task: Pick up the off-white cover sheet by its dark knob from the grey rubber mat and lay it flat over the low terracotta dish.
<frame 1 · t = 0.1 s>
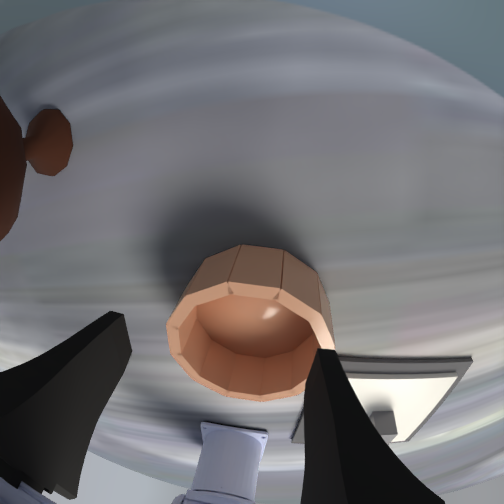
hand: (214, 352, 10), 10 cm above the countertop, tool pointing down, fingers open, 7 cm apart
cover sheet: (378, 412, 26), resting on mat
mat: (377, 408, 26), on the countertop
dish: (256, 310, 22), on the countertop
ice cream bowl: (50, 141, 18), on the countertop
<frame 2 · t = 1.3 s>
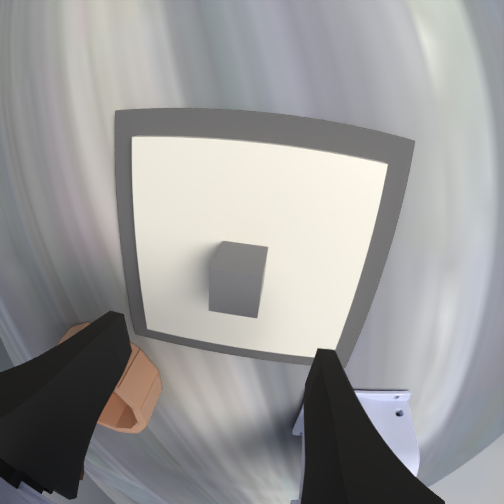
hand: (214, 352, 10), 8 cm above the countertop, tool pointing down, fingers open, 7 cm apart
cover sheet: (245, 258, 17), resting on mat
mat: (246, 254, 17), on the countertop
dish: (111, 365, 25), on the countertop
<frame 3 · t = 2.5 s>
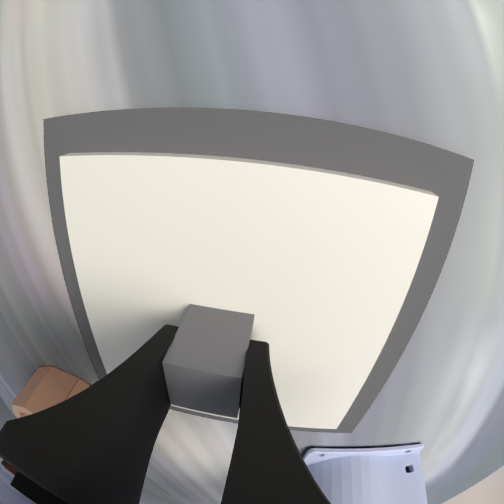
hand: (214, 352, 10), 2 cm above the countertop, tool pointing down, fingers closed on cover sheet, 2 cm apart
cover sheet: (224, 323, 12), resting on mat, touching gripper
mat: (226, 315, 12), on the countertop
dish: (85, 409, 20), on the countertop
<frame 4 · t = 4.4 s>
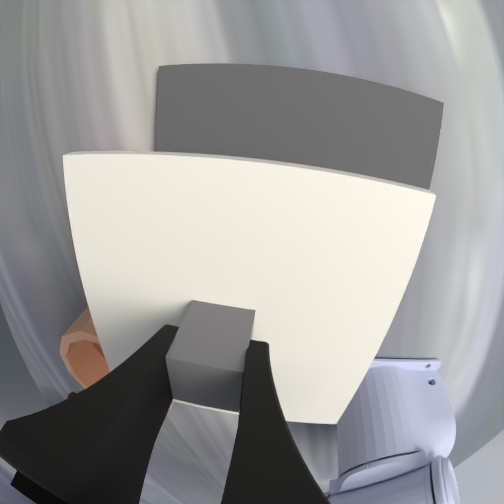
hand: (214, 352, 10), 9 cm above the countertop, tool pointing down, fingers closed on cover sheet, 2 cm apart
cover sheet: (225, 319, 12), point 7 cm above the countertop, touching gripper
mat: (289, 209, 17), on the countertop
dish: (132, 345, 24), on the countertop
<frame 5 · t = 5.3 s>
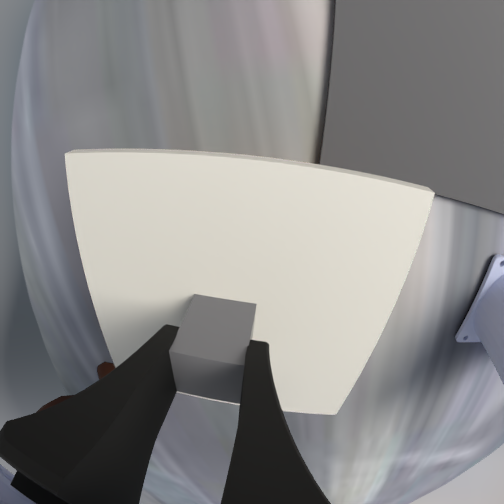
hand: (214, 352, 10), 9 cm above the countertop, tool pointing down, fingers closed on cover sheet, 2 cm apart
cover sheet: (227, 312, 12), point 7 cm above the countertop, touching gripper
mat: (461, 70, 11), on the countertop
ice cream bowl: (120, 378, 27), on the countertop
when the fingers open (7 cm above the countertop, at t = 6.1 s): cover sheet stays where it is, resting on dish.
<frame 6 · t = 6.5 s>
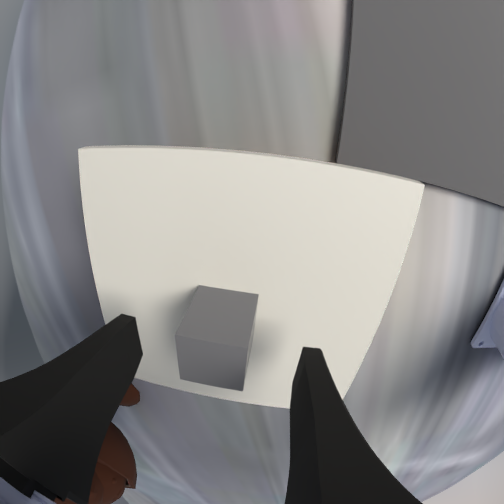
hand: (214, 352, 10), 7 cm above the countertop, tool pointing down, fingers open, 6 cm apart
cover sheet: (230, 304, 13), point 4 cm above the countertop, touching dish
mat: (483, 62, 9), on the countertop
ice cream bowl: (117, 385, 26), on the countertop
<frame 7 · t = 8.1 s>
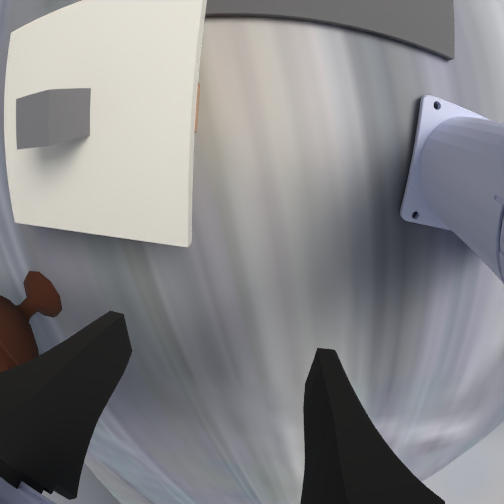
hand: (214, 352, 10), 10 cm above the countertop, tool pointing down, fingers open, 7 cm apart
cover sheet: (79, 113, 12), point 4 cm above the countertop, touching dish
ice cream bowl: (43, 292, 25), on the countertop
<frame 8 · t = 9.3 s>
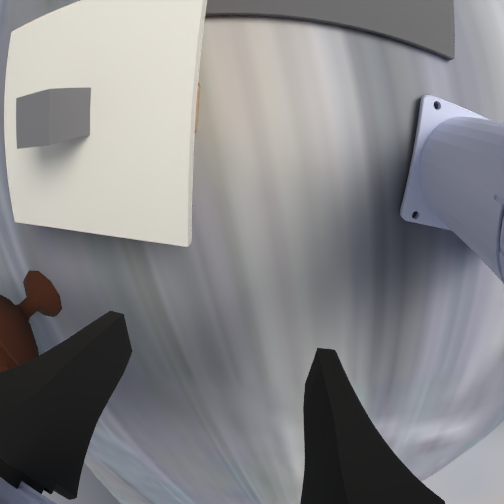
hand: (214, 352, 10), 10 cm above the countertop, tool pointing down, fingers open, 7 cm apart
cover sheet: (79, 112, 12), point 4 cm above the countertop, touching dish
ice cream bowl: (43, 292, 25), on the countertop
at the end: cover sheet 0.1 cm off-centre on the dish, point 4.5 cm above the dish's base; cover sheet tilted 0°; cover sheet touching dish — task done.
